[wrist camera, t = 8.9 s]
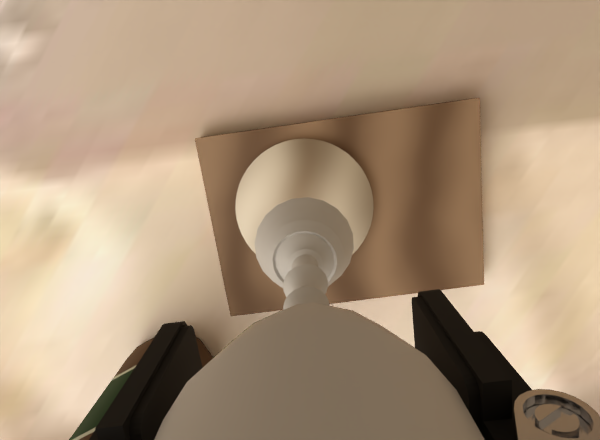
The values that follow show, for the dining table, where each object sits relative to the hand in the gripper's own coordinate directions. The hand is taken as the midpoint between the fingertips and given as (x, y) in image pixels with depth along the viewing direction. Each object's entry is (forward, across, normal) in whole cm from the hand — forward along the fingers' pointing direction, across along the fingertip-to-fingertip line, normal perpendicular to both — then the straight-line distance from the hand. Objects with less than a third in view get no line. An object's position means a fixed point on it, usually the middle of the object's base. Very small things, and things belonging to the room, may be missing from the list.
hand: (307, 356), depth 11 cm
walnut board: (+20, -3, +1) cm, 21 cm away
